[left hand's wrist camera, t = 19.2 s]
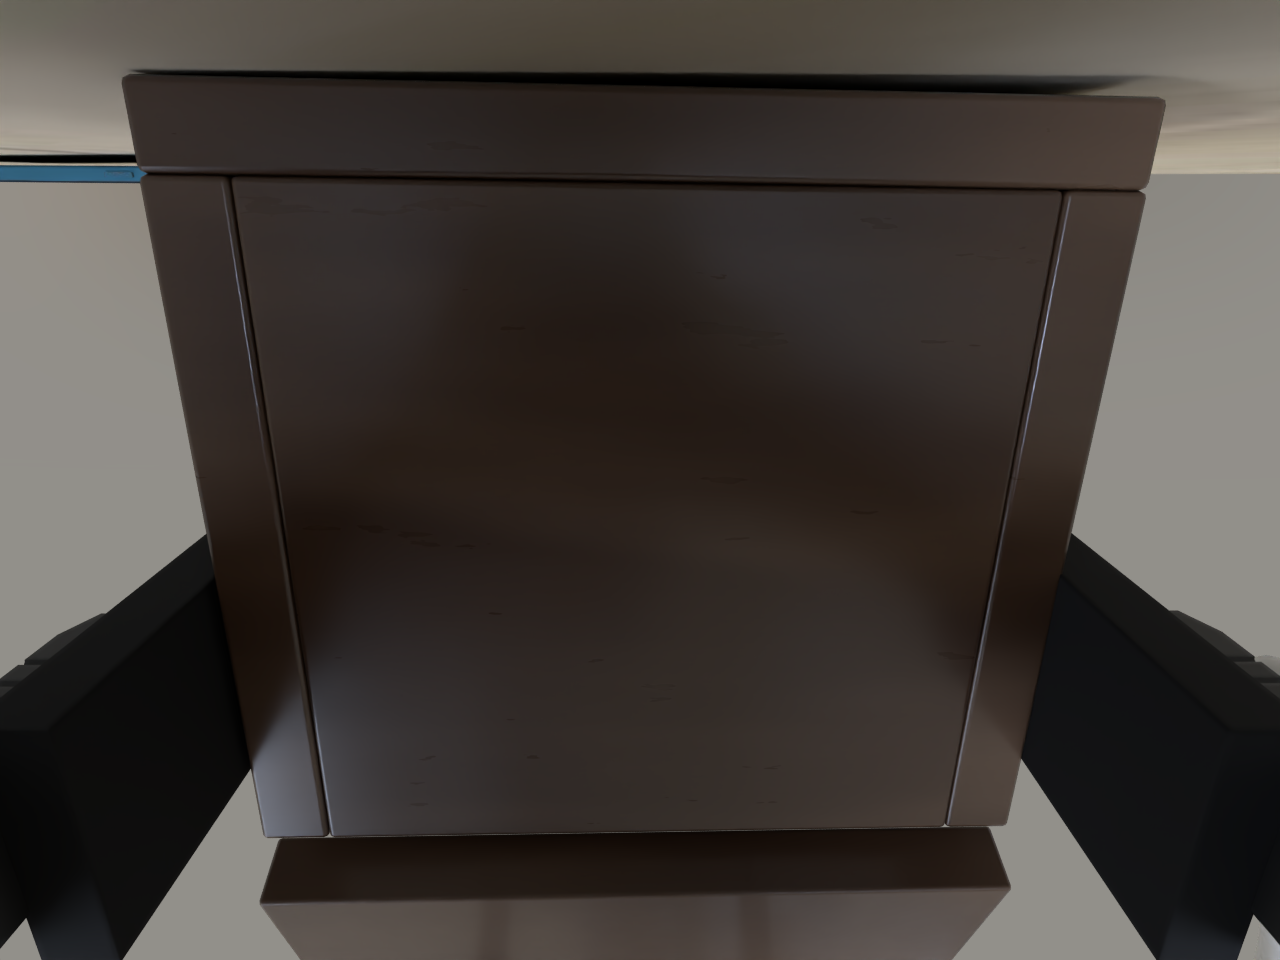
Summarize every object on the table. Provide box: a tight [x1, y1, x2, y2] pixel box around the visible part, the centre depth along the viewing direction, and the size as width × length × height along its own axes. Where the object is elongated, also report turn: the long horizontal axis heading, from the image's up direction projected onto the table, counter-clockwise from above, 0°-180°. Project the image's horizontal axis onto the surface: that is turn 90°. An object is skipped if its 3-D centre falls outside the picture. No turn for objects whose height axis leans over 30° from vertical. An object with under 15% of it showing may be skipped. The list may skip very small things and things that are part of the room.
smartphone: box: [0, 165, 148, 183], centre depth 28 cm, size 8×1×15 cm
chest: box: [122, 74, 1166, 838], centre depth 15 cm, size 13×10×9 cm
